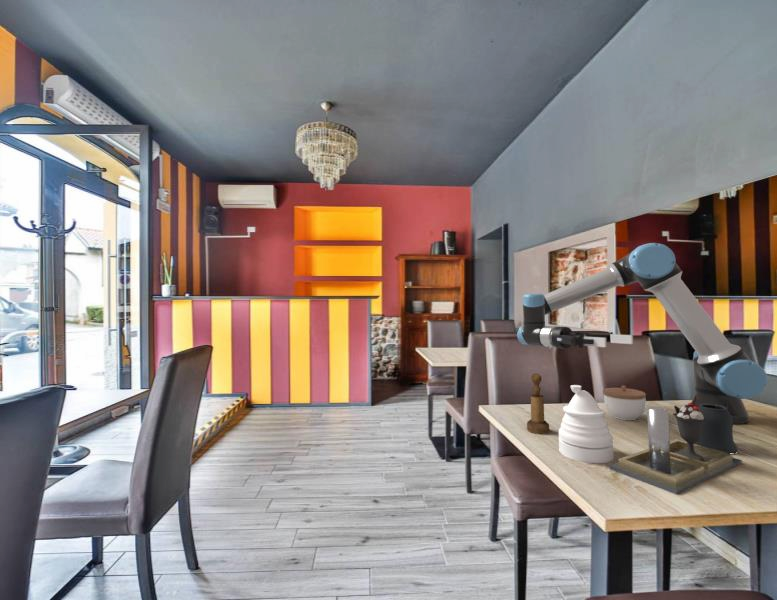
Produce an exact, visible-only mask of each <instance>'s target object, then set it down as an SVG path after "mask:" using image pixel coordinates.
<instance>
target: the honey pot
mask: <svg viewBox="0 0 777 600" xmlns="http://www.w3.org/2000/svg"><path fill="white" fill-rule="evenodd" d="M570 389H571V391H572V393H574V395H573V396H572V398H571V400H569V403H568V404H567V405H564V406H563V407H562V411H563V412H565V413H564V415H563V417H562V419H561V423H560V427H559V429H558V450H559V453H560V454H561V455H562V456H564V457H566V458H567V459H568V458H569V459H571V460H574V461H577V462H582V463H586V464H587V463H588V464H606V463H609V462H612V461H613V460H614V458H613V457H614V444H613V443H614V441H613V435H612V433H611V432H610V428H609V427H608V425H609V424H608V422H607V421H606V419H605V417H604V416H605V414H606V411H605V410H604V409H603V408H601V407H600V405H599V404H598V402H597V401H596V399H595V398H594V397H593V395H592V394H591V393H590V392H589V391H586V390H583V389H582V385H579V384H572V385H570Z"/></svg>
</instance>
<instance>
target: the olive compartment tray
mask: <svg viewBox="0 0 777 600" xmlns="http://www.w3.org/2000/svg"><path fill="white" fill-rule="evenodd" d="M646 412H647V432H648V433H647V434H648V435H647V436H648V438H647V439H648V449H644V450H641V451H638V452H635V453H632V454H629V455H627V456H624V457H621V458H620V457H619V458H618V462H617V463H613V464H610V465H609V469H610V470H611V471H614V472H617V473H619V474H622V475H625V476H628V477H630V478H633V479H635V480H637V481H640V482H643V483H646V484H648V485H651V486H654V487H657V488H659V489H662V490H664V491H667V492H669V493H672V494H674V495H678V494H679V493H682V492H684V491H686V490H689V489H690V487H691V488H692V486H693V487H694V485H695V486H697V485H698V483H699V484H701V483H703V482H705V480H706V481H708V480H709V478H710V479H711V477H712V478H714V477H716V476H718V475H720V474H722V472H723V473H724V471H725V472H726V470H727V471H728V469H729V470H731V469H732V467H733V468H735V467H737V466H739V465H742V464H743V460H742V459H740V458H735V457H733V454H730V453H726V452H722V451H719V450H715V449H711V448H707V447H703V446H700V445H696V444H693V445H694V452H695V453H696V454H698V455H700V456H702V457H703V458H704V459H703V460H696V459H693V458H689V457H686V456H682V455H679V453H680V452H686V451H687V448H688V444H687V442H686V441H685V440H680V439H675V438H674V439H672V440H670V424H669V422H670V421H669V409H667V408H665V407H660V406H648V407H647V408H646ZM741 463H742V464H741ZM738 464H739V465H738ZM736 465H737V466H736ZM734 466H735V467H734ZM730 468H731V469H730ZM715 475H716V476H715ZM713 476H714V477H713ZM707 479H708V480H707ZM702 481H703V482H702ZM700 482H701V483H700ZM696 484H697V485H696ZM688 488H689V489H688Z"/></svg>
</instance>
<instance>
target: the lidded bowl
mask: <svg viewBox="0 0 777 600" xmlns="http://www.w3.org/2000/svg"><path fill="white" fill-rule="evenodd" d="M602 394H603V402H604V406H605V408H606V410H607V411H608V413H609V414H610V415H611V416H612V418H613V419H616V418H617V419H616V420H621V421H626V420H634V421H637V420H638V419H639V418H640V417H641V416H643V414H644V412H645V410H646V404H647V403H646V402H647V401H646V400H647V399H646V397H647V394H646V393H645V391H642V390H639V389H634V388H629V387H628V388H627V387H626V385H621V387H607V388H604V389H603V390H602ZM636 419H637V420H636Z"/></svg>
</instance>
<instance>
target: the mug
mask: <svg viewBox="0 0 777 600" xmlns="http://www.w3.org/2000/svg"><path fill="white" fill-rule="evenodd" d="M699 411H700V412H701V413H702V415H703V416H704V417H706V419H707V420H706V421H704V422H703V425H702V433H701V438H700V440H699V441H697V442H695V443H694V444H696V445H700V446H703V447H707V448H711V449H715V450H719V451H722V452H726V453H736V452H737V451H738V447H737V444H736V443H735V441H734V439H733V434H734V433H733V428H734V425H733V421H732V416H731V414H730V413H729V412H728V409H727V408H726V407H724V406H721V405H715V404H700V405H699ZM738 452H739V451H738Z"/></svg>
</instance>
